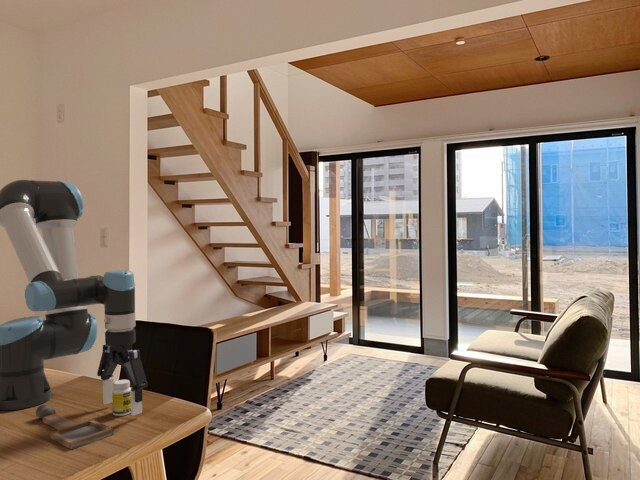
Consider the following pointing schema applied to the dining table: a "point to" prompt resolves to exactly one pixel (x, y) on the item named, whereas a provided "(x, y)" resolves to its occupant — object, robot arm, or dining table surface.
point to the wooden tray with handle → (72, 429)
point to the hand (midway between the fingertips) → (122, 408)
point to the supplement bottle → (121, 398)
